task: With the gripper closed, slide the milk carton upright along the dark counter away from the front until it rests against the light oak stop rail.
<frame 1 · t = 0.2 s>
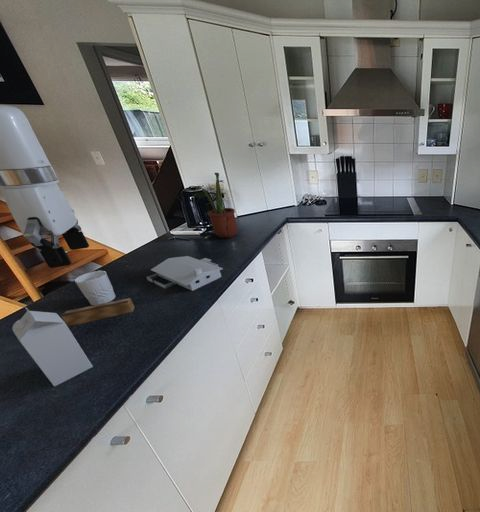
hand: (71, 256, 60), 32 cm above the worktop, tool pointing down, fingers open, 9 cm apart
milk carton: (70, 371, 71), on the worktop
stop rail: (103, 316, 90), on the worktop
potted plant: (224, 238, 152), on the worktop
grey portable case: (194, 275, 115), on the worktop
white cup: (103, 300, 98), on the worktop
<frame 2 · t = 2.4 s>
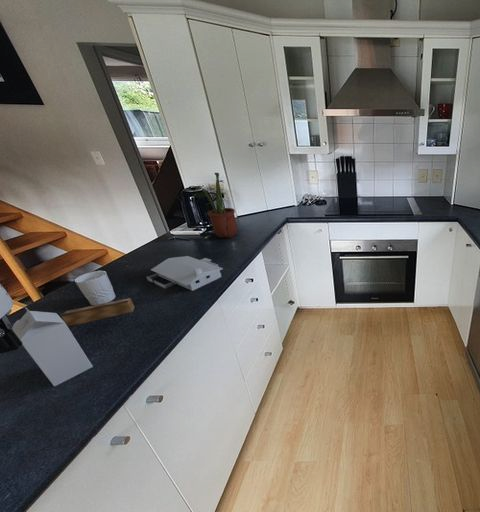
hand: (9, 349, 55), 17 cm above the worktop, tool pointing down, fingers closed
nothing on the worktop moved.
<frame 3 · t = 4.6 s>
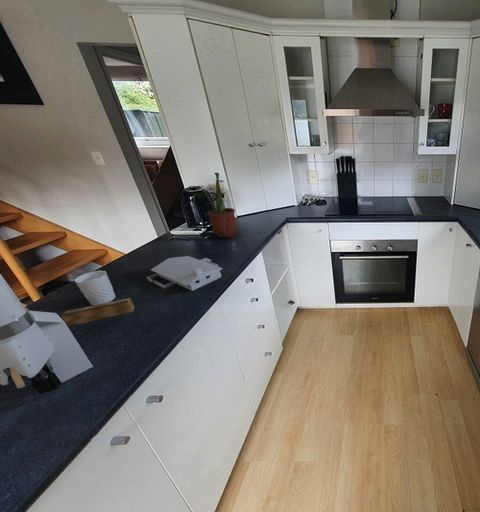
hand: (51, 388, 63), 2 cm above the worktop, tool pointing down, fingers closed
milk carton: (70, 371, 71), on the worktop, touching gripper
everything else where it was.
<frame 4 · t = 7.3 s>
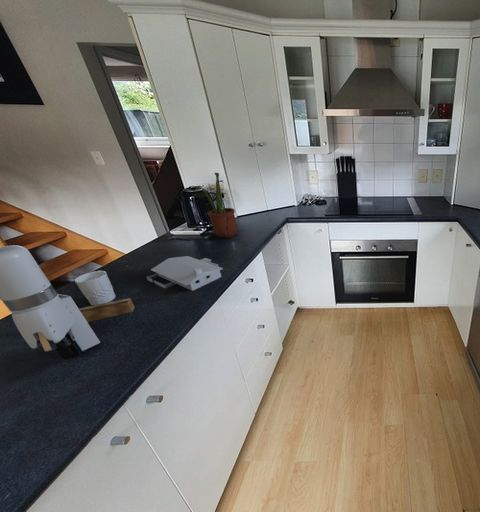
hand: (73, 355, 71), 3 cm above the worktop, tool pointing down, fingers closed
milk carton: (81, 349, 76), point 1 cm above the worktop, touching gripper
everything else where it was.
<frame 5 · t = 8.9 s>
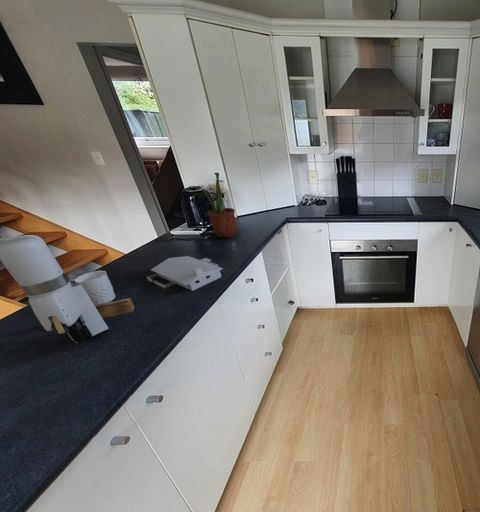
hand: (84, 338, 77), 3 cm above the worktop, tool pointing down, fingers closed
milk carton: (91, 335, 81), point 1 cm above the worktop, touching gripper
everything else where it was.
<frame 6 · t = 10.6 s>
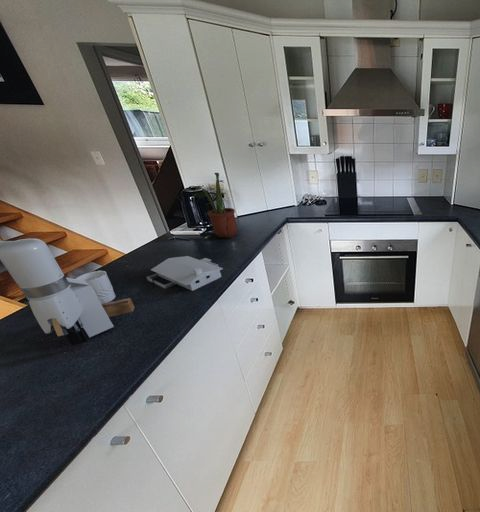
hand: (81, 341, 77), 2 cm above the worktop, tool pointing down, fingers closed
milk carton: (95, 331, 84), on the worktop, touching gripper
everything else where it was.
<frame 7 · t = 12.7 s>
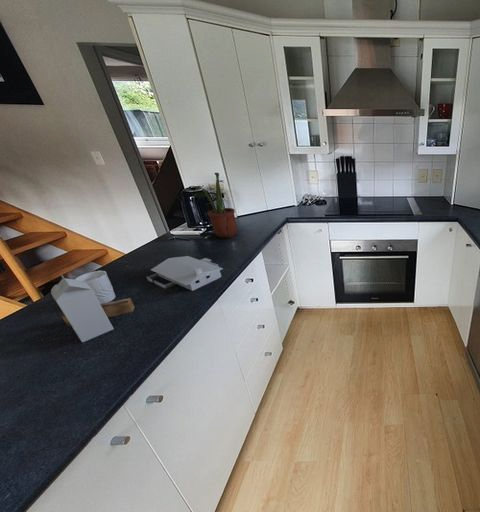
milk carton: (95, 332, 84), on the worktop
everything else where it was.
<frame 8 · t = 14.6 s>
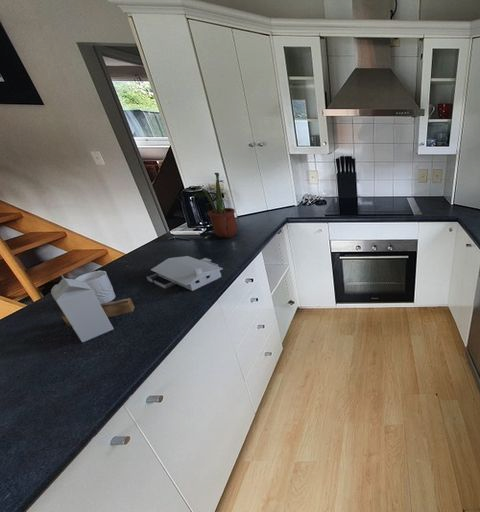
nothing on the worktop moved.
at the end: milk carton inside the target area on the worktop beside the stop rail (2.0 cm from its centre), on the worktop; milk carton tilted 0°; milk carton moved 16.5 cm from its start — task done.
